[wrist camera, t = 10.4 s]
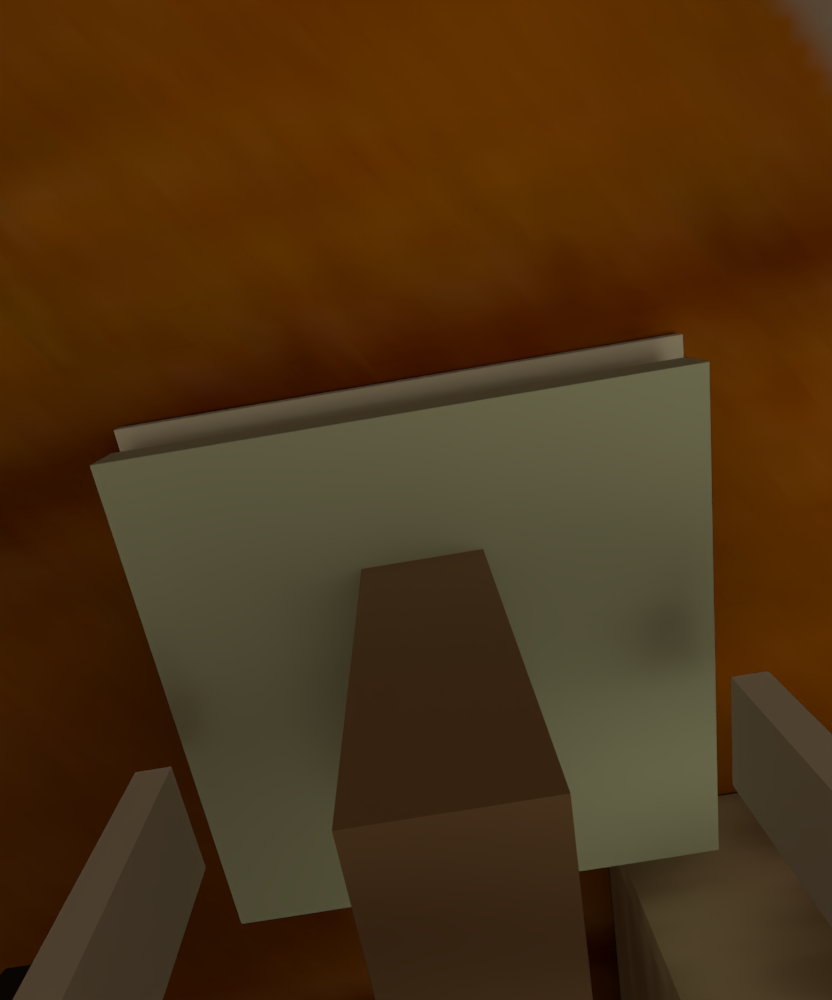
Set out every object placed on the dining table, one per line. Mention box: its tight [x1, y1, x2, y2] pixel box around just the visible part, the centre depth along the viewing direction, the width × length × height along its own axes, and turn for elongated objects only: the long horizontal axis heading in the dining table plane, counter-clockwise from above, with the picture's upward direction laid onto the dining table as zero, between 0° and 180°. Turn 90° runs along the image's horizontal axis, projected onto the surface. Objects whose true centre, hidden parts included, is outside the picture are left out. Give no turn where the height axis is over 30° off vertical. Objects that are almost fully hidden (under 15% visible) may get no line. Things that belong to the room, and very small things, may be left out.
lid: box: [90, 357, 719, 1000], centre depth 14 cm, size 14×14×10 cm
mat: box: [114, 334, 683, 452], centre depth 19 cm, size 15×15×1 cm
